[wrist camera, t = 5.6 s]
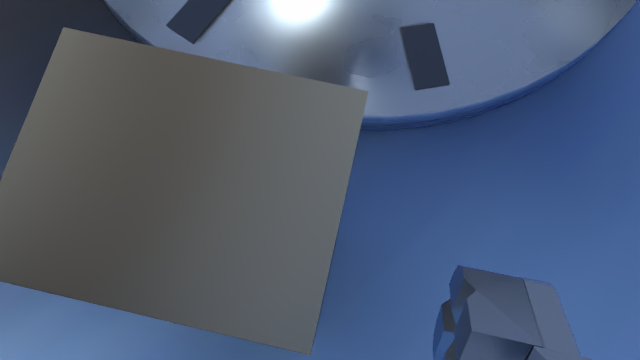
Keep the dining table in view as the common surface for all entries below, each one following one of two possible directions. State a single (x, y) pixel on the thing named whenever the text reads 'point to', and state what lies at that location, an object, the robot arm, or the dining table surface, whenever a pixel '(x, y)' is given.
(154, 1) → the slotted white disc
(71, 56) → the tall beige block
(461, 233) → the dining table surface
